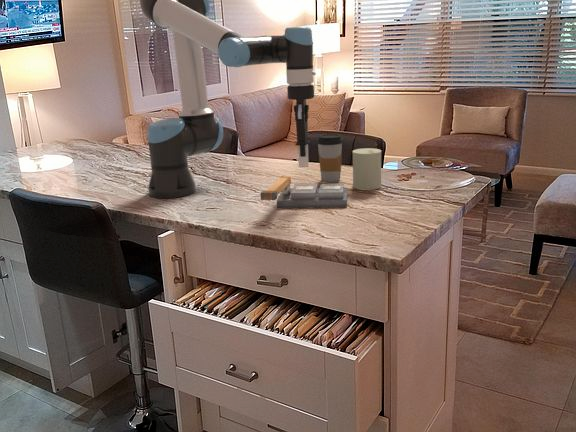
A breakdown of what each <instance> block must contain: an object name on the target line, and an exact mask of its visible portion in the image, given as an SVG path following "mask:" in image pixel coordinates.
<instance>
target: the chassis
mask: <svg viewBox="0 0 576 432" xmlns="http://www.w3.org/2000/svg"><path fill="white" fill-rule="evenodd" d="M318 186H320V187H318ZM348 190H349V189H348V187H345V183H320V185H319V184H318V183H309V184H308V183H305V184H304V183H303V184H302V183H299V184H297V183H296V184H294V186H293V188H291V184H289V185H288V186H287V187H286V188H284V189H283V190H282V191H281V192H280V193H279V194H278V197H277V199H276V207H277V209H279V208H280V209H283V208H284V209H285V208H287V209H289V208H290V209H292V208H296V209H298V208H348V195H349V192H348Z"/></svg>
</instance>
